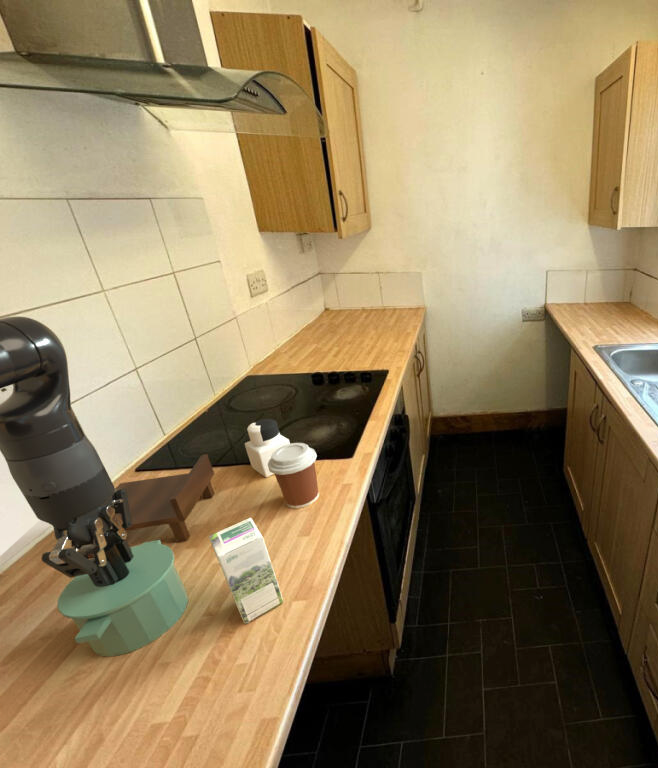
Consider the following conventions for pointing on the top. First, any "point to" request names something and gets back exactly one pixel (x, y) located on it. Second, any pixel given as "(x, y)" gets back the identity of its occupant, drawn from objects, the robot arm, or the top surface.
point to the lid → (117, 582)
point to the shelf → (168, 499)
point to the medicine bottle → (263, 444)
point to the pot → (136, 619)
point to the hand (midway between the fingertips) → (116, 571)
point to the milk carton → (247, 569)
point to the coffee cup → (295, 473)
